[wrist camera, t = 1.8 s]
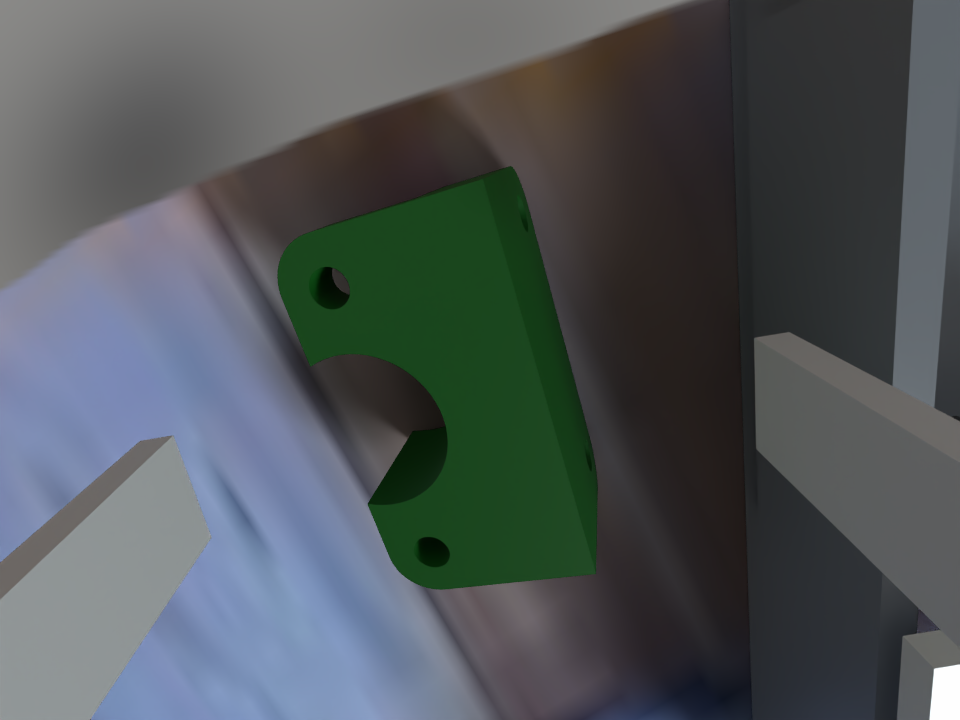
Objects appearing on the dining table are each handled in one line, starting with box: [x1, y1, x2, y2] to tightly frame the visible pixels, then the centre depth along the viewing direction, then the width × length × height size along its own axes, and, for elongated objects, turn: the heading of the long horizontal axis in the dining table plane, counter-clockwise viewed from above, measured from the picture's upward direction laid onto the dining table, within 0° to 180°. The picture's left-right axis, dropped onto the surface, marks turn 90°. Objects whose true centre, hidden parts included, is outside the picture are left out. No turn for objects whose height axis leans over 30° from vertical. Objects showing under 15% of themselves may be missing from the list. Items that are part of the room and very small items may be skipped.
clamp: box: [278, 166, 598, 589], centre depth 18 cm, size 12×6×9 cm, turn 10°
